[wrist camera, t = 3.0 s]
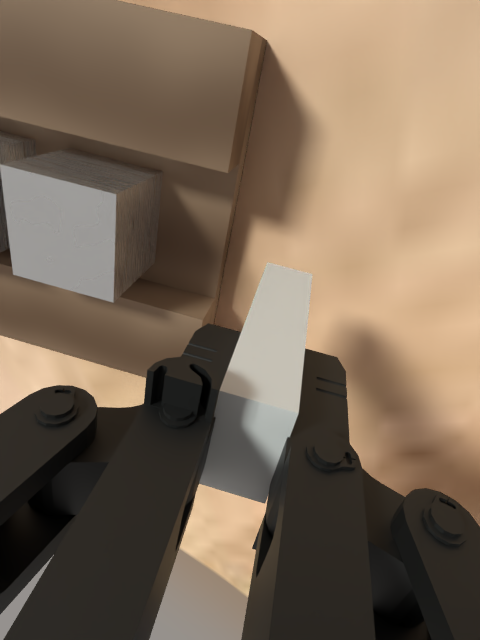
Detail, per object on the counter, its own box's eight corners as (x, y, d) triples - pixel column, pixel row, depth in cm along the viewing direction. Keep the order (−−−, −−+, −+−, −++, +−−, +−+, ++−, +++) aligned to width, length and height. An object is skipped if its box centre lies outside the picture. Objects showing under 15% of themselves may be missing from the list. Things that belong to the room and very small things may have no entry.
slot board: (-95, -40, 15) (-182, -66, 12) (266, 40, 14) (251, 30, 11) (-32, 286, 22) (-79, 311, 20) (208, 354, 21) (190, 390, 19)
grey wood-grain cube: (69, 147, 16) (-1, 164, 13) (162, 171, 16) (116, 194, 13) (72, 239, 18) (13, 274, 15) (154, 262, 18) (113, 302, 15)
